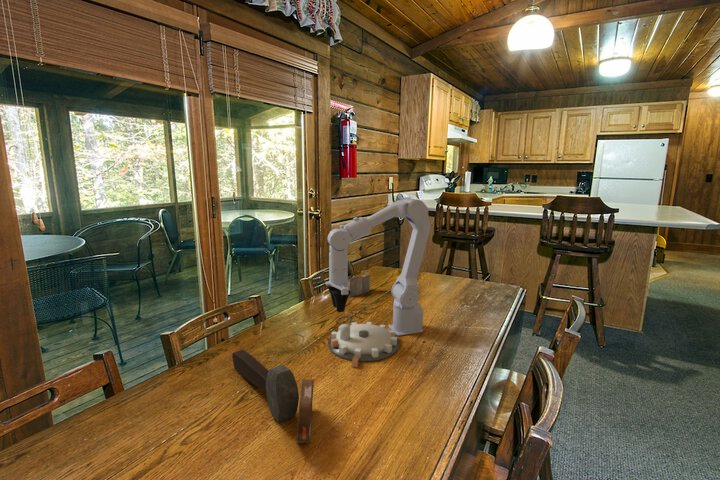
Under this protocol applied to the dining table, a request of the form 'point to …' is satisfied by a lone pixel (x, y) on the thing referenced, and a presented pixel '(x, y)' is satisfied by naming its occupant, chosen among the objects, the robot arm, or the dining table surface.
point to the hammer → (270, 384)
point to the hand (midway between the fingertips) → (338, 309)
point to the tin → (305, 412)
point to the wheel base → (363, 358)
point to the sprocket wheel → (363, 339)
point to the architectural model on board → (359, 284)
